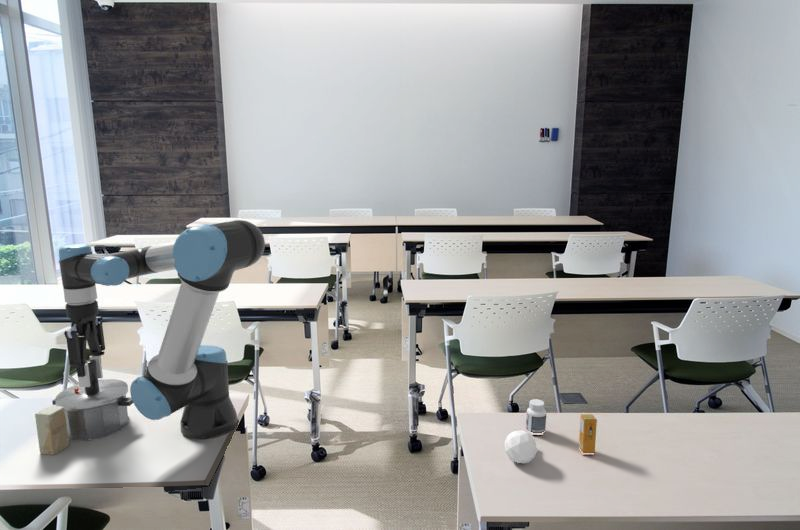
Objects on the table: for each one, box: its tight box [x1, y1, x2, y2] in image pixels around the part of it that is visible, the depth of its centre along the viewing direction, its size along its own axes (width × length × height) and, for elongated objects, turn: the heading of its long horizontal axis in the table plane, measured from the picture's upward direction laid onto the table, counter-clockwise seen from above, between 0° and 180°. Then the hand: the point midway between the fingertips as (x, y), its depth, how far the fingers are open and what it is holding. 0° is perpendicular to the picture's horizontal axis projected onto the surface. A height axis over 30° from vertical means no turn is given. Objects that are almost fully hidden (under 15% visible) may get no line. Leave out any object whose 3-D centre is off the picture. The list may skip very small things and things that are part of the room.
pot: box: [51, 394, 134, 441], centre depth 148 cm, size 22×16×9 cm
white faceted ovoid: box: [503, 429, 538, 464], centre depth 133 cm, size 8×8×12 cm
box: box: [34, 405, 70, 456], centre depth 136 cm, size 5×4×11 cm
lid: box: [55, 359, 129, 411], centre depth 146 cm, size 18×18×10 cm
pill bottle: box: [525, 398, 547, 433], centre depth 145 cm, size 5×5×9 cm
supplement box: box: [578, 413, 598, 454], centre depth 135 cm, size 3×3×10 cm
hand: (91, 381), depth 146 cm, fingers open, 5 cm apart
